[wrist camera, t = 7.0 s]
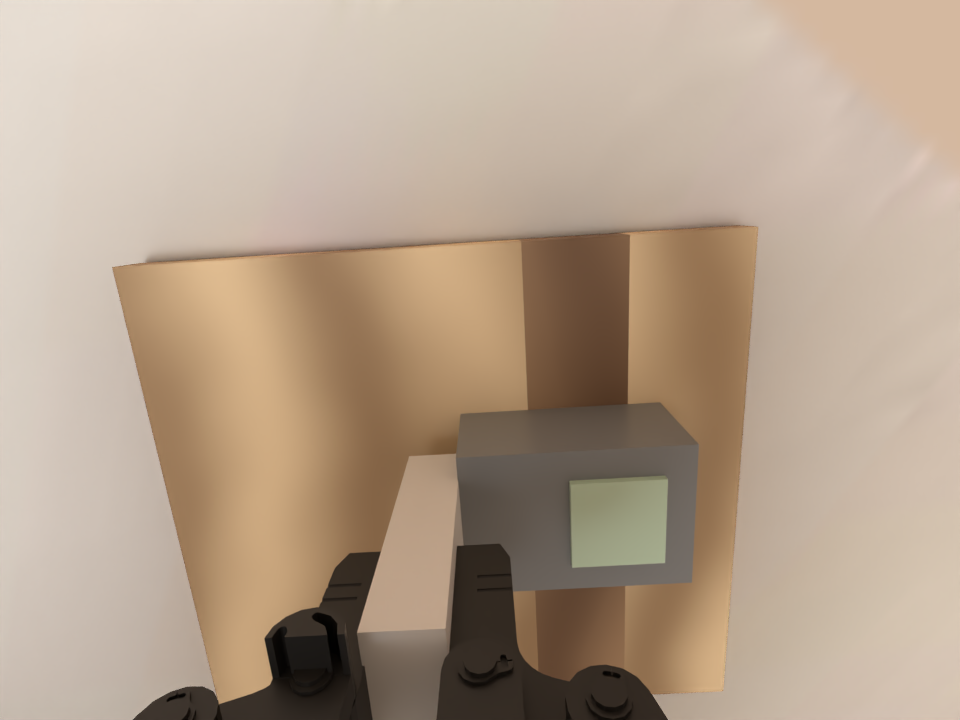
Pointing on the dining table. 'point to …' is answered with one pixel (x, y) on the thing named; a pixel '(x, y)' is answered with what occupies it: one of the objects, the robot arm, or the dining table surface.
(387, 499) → the board
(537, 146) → the dining table surface
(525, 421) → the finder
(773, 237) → the dining table surface
